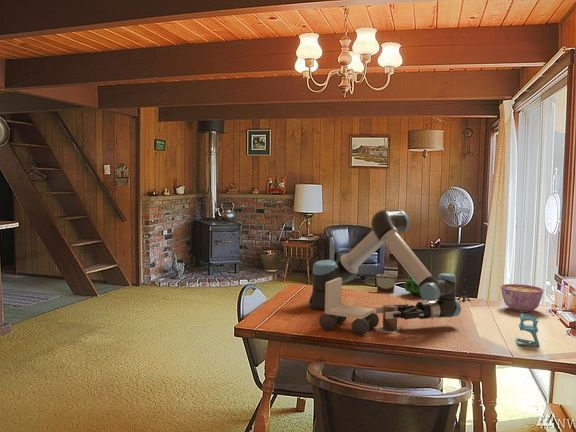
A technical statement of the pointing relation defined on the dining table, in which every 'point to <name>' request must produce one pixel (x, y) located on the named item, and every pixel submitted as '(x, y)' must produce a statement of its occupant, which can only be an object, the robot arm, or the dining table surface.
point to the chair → (528, 329)
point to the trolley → (345, 311)
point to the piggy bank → (412, 287)
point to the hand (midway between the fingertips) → (380, 312)
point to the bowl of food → (521, 296)
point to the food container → (385, 283)
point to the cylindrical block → (389, 323)
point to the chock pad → (387, 331)
